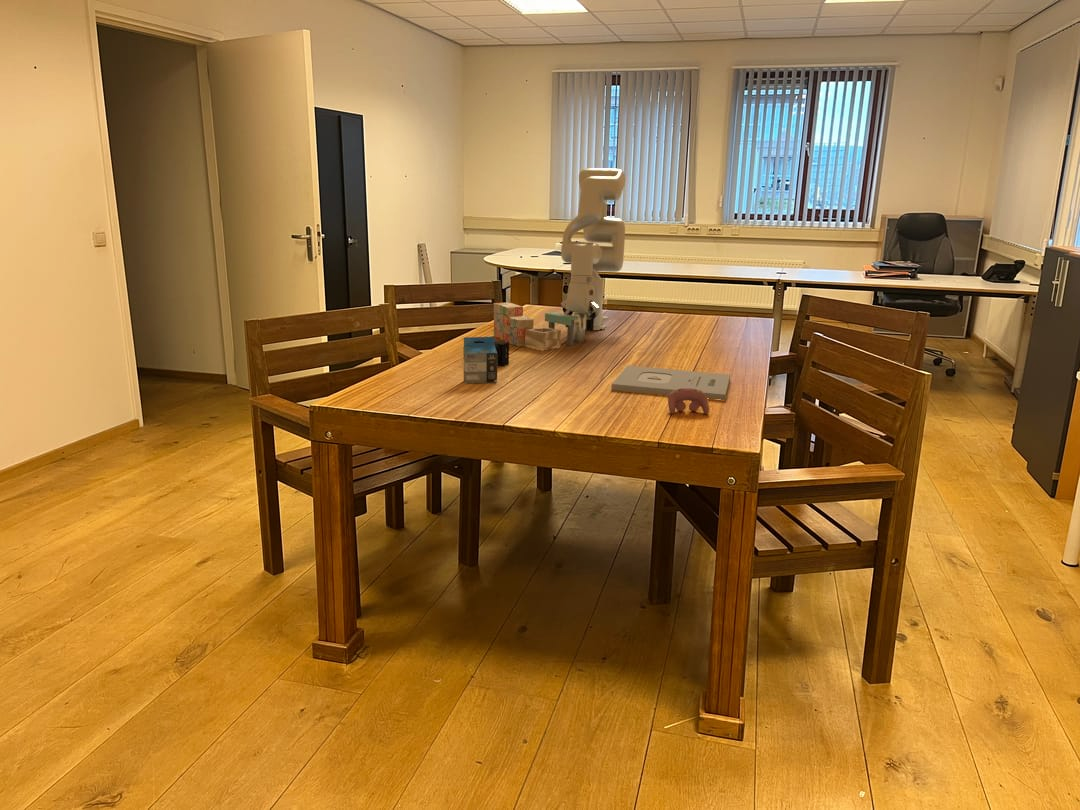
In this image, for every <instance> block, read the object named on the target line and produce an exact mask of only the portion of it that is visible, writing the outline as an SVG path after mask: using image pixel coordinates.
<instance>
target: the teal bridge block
mask: <svg viewBox="0 0 1080 810" xmlns="http://www.w3.org/2000/svg"><path fill="white" fill-rule="evenodd" d="M574 320H578V316H574V315H573V314H572V315H566V314H564V313H560V312H554V311H551V312H545V313H544V322H548V328H551V329H556V328H555V327H556V326H555V324H558V325H565V326H566V325H568V327H567V335H566V346H569V345H572V346H574V341H573V335H574Z"/></svg>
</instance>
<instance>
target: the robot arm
mask: <svg viewBox="0 0 1080 810" xmlns="http://www.w3.org/2000/svg"><path fill="white" fill-rule="evenodd" d="M625 182H626V174H625V172H624V170H623V169H620V168H606V167H605V168H603V167H602V168H601V167H598V168H597V167H591V168H584V169H582V170H581V171H579V174H578V186H579V190H580V194H579V202H578V210H577V215H576V216H575V217H574V218H573V219H572V220H571V221H570V222H568V224H567V226H566V228H565V229H564V231H563V235H562V241H561V250H560V257H561V259H562V261H563V262H564V263H567V264H571V265H570V282H569V284H568V288H567V295H566V299H565V300H564V301H561V302H560V305H561V308H562V312H563V314H566V315H572V316H573V315H574V313H585V314H586V318H585V332H591V331H601V330H600V329H602V330H605V329H606V325H605V324H604V322H609V320H610V318H609V317H608V316H603V299H604V298H603V296H604V282H603V280H602V278H601V276H600V274H599V273H598V272H607V273H608V272H610V273H617V272H620V271H622V268H623V264H624V255H625V254H624V253H625V241H626V240H625V239H626V225H625V222H624V220H623V219H621V218H618V217H607V215H608V213H607V212H608V203H607V202H606V201H610V202H615V201H616V202H617V201H619V200H620V198H621V196H622V194H623V190H624V188H625V184H626V183H625ZM582 230H583V232H582V233H583V234H582V235H583V236H582V237H583V238H584V240H585V241H586V242H585V241H571V240H572V238H573V236H574V235H575V234H576V233H578V232H579V231H582ZM599 244H611V246H609V245H607V246H606V245H599ZM565 328H568V325H565ZM604 328H605V329H604Z"/></svg>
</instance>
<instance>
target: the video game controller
mask: <svg viewBox="0 0 1080 810" xmlns="http://www.w3.org/2000/svg"><path fill="white" fill-rule="evenodd" d="M684 401H691V402H690V403H689V404H688V409H689V411H690V410H691V411H690V412H692V411H695V412H697V411H698V410H699V408H701V409H702V412H703V414H704V413H705V414H708V413H710V405H709V400H708V399H707V397H706V395H705V394H704V393H703V392H702V391H701V390H696V389H693V388H682V389H678V390H674V391H672V392H671V393H670V394H669V395H668V396H667V405H668V411H669V412H670V413H669V414H671V415H672V414H673V415H675V412H676V410H677V412H680V411H681V412H683V411H685V410H686V408H687V404H686V403H685V402H684ZM705 414H704V415H705ZM708 415H709V414H708Z"/></svg>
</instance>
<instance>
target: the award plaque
mask: <svg viewBox="0 0 1080 810" xmlns="http://www.w3.org/2000/svg"><path fill="white" fill-rule="evenodd" d="M729 381H731V374H729V373H719V372H718V373H717V372H707V371H706V372H705V371H704V372H703V371H696V370H682V369H672V368H660V367H648V366H640V365H639V366H637V365H627V366H626V367H625V368H624V369H623V370H622V372H620V374H618V376H617V377H616V379H614V380H613V382H612V383H611V388H610V389H611V391H614V390H618V391H617V392H624V391H628V392H627V393H635V392H637V393H636V394H645V393H651V394H650V395H656V394H661V395H660V396H666V395H669V394H670V393H671V392H672V391H674V390H678V389H682V388H693V389H696V390H701V391H702V392H703V393H704V394H705V395H706V397H707V398H709V399H721V400H725V401H726V398H727V394H728V390H727V389H729V386H730V382H729ZM728 385H729V386H728ZM726 393H727V394H726ZM725 397H726V398H725Z"/></svg>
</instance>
